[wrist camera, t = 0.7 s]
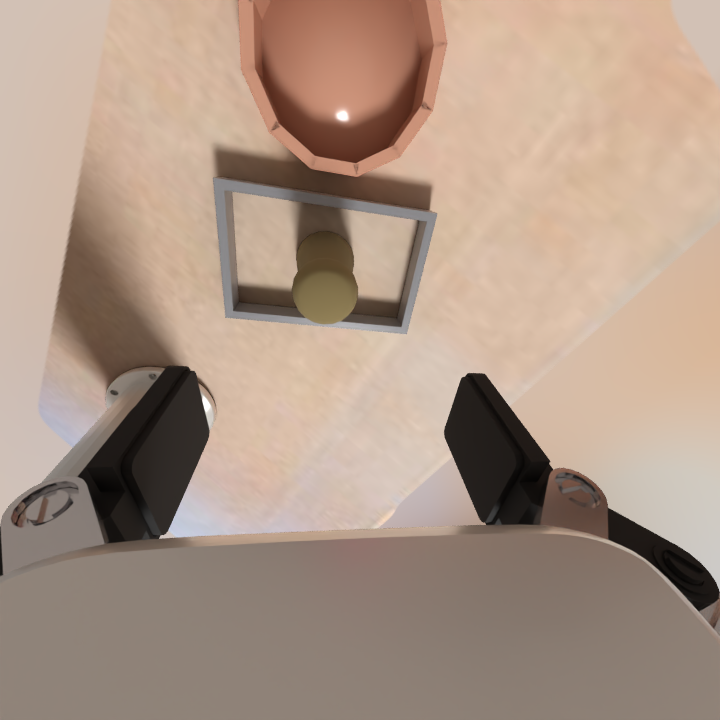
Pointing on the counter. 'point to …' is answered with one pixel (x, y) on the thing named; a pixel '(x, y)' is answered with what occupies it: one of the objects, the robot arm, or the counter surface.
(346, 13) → the bowl
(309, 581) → the robot arm
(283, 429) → the counter surface
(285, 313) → the grey rectangular frame
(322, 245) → the olive pestle
